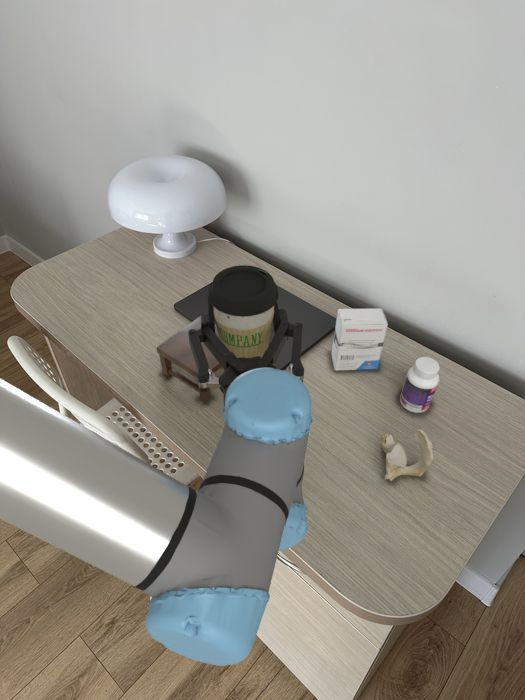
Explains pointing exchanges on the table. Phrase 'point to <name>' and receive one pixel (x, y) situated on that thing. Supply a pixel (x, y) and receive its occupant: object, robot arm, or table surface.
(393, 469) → the bone
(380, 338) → the ink box
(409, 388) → the pill bottle
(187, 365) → the small brown wooden table
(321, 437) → the table surface
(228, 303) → the coffee cup
